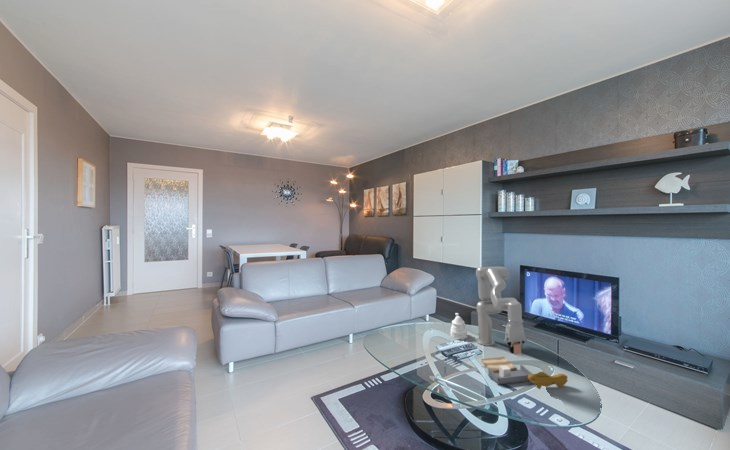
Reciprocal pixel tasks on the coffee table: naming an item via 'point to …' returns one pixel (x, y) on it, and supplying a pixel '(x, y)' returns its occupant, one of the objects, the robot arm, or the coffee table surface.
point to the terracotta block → (516, 348)
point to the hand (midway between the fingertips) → (515, 351)
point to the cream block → (504, 371)
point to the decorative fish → (547, 379)
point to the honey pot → (458, 328)
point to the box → (515, 377)
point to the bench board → (497, 363)
